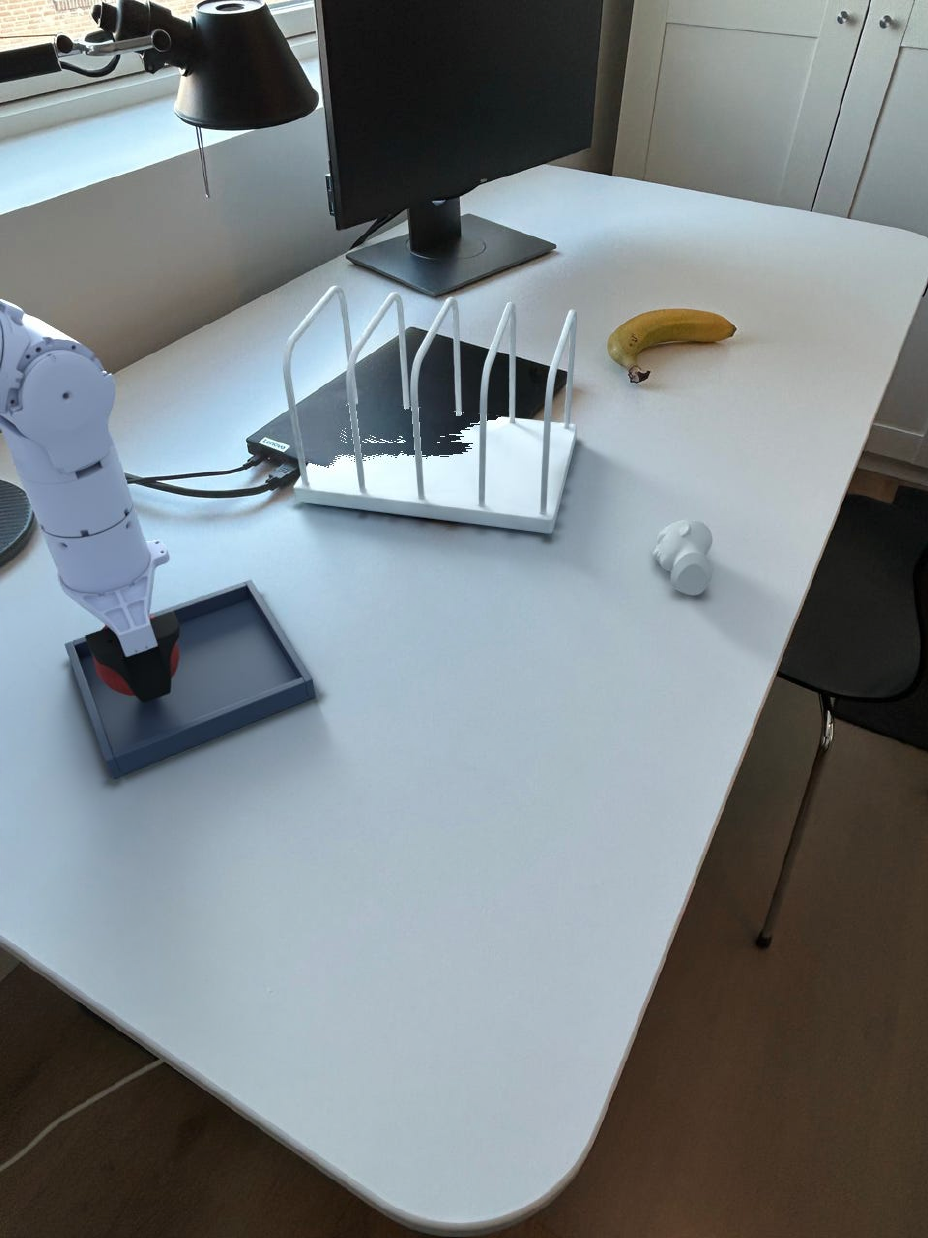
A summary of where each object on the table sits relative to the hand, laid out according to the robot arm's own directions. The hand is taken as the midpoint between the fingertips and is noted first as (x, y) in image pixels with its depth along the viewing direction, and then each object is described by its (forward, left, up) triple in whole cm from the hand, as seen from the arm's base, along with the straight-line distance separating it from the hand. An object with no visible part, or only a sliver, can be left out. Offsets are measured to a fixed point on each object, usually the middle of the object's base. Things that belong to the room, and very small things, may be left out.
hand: (141, 661), depth 64 cm
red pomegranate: (0, 0, -3) cm, 3 cm away
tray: (+3, 0, -3) cm, 5 cm away
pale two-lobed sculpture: (+44, -9, -4) cm, 45 cm away
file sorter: (+34, +15, -4) cm, 37 cm away
